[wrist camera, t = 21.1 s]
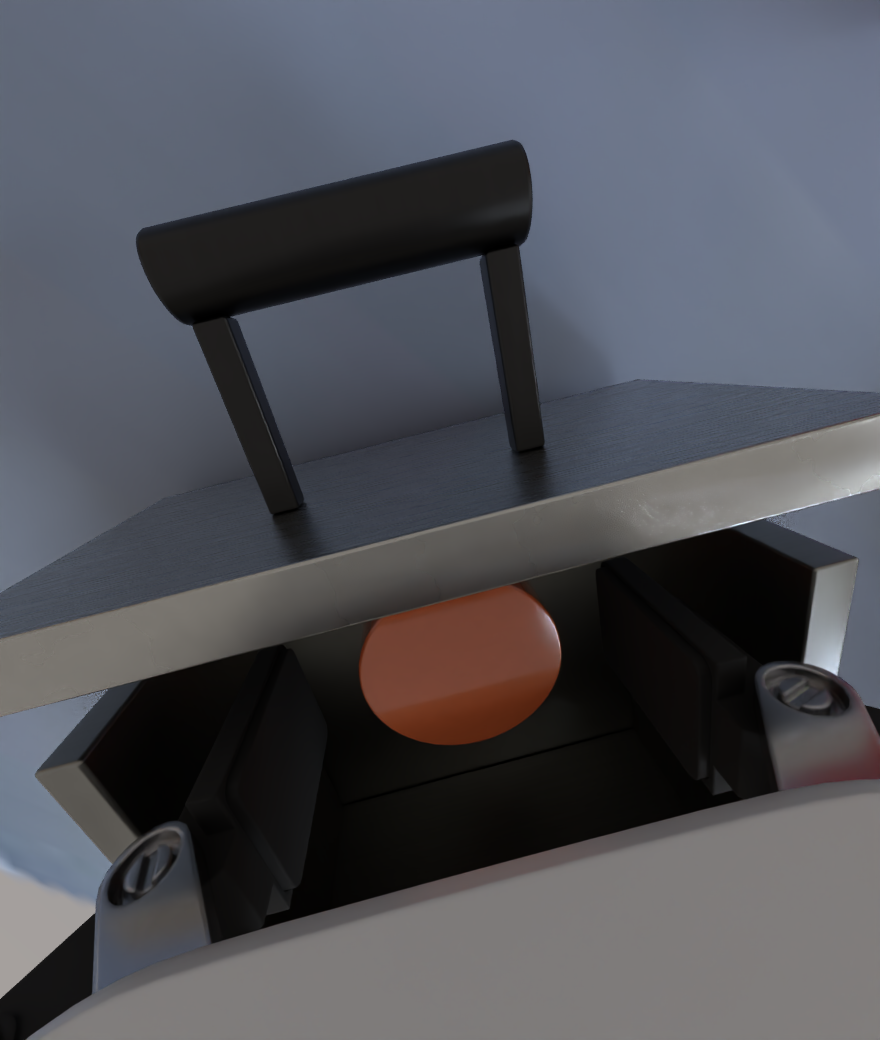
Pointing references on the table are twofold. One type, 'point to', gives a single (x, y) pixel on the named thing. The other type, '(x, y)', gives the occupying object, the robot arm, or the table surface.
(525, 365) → the handled box
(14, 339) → the table surface
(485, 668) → the orange glossy cylinder
